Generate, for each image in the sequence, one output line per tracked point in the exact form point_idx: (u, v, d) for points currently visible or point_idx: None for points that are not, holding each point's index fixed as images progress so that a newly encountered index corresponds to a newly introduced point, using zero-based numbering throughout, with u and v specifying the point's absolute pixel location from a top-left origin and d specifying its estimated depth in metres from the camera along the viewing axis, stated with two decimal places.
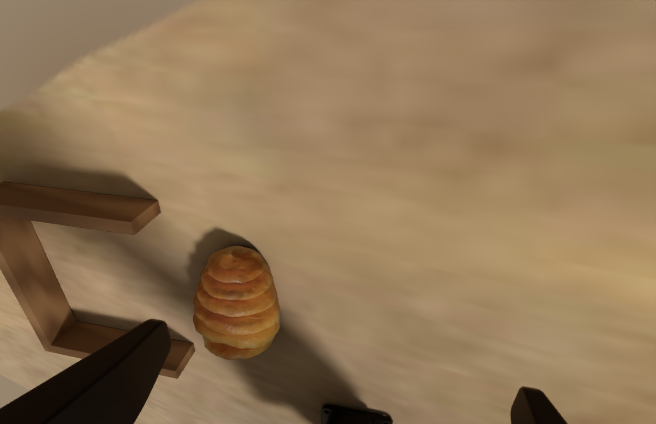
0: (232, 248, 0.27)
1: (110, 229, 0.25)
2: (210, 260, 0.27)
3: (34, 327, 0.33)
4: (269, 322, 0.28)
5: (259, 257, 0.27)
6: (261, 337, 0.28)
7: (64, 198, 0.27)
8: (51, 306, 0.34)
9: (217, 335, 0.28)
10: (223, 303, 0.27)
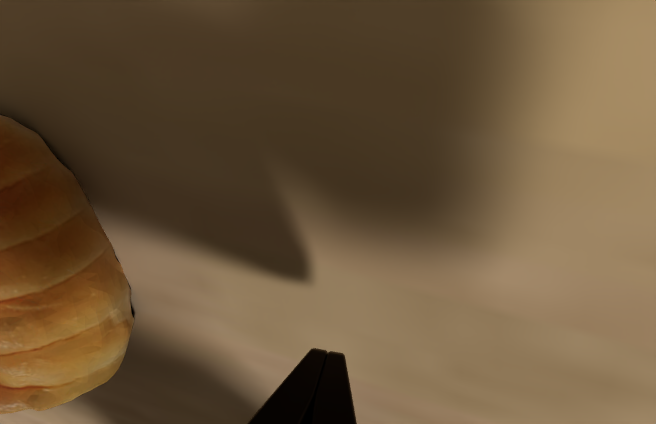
0: None
1: None
2: None
3: None
4: (78, 320, 0.11)
5: (30, 141, 0.10)
6: (62, 358, 0.11)
7: None
8: None
9: None
10: None
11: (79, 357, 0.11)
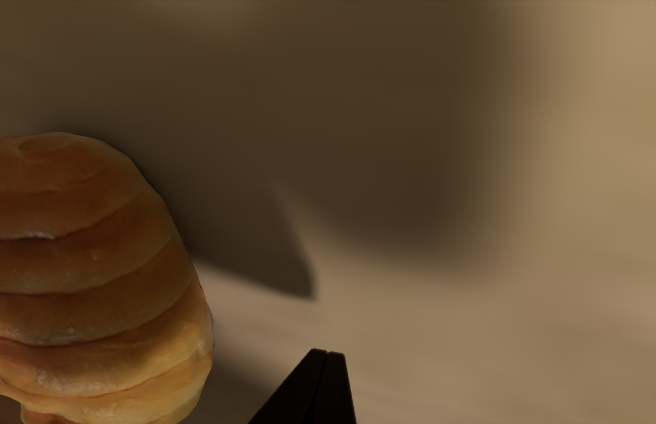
0: (33, 135, 0.09)
1: None
2: None
3: None
4: (170, 356, 0.10)
5: (123, 165, 0.09)
6: (152, 396, 0.10)
7: None
8: None
9: (24, 398, 0.10)
10: (10, 304, 0.09)
11: (167, 394, 0.11)
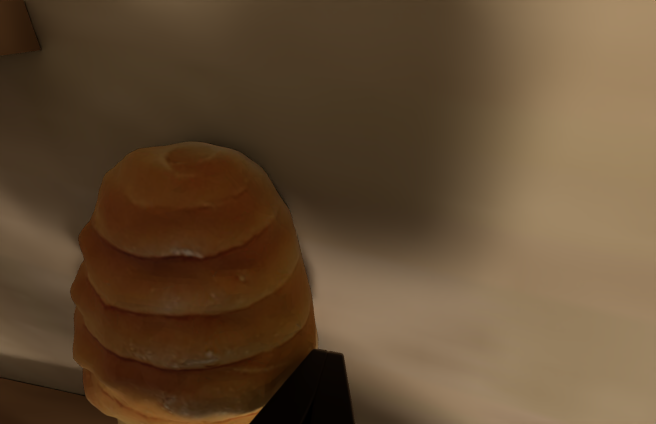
0: (173, 144, 0.08)
1: None
2: (102, 187, 0.08)
3: None
4: None
5: (262, 178, 0.09)
6: None
7: None
8: None
9: (141, 421, 0.09)
10: (146, 326, 0.08)
11: None
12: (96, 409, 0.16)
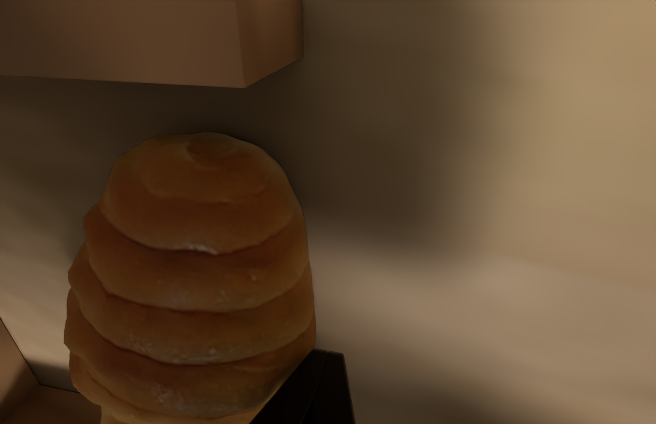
0: (193, 134, 0.08)
1: (121, 65, 0.05)
2: (114, 170, 0.08)
3: None
4: None
5: (280, 177, 0.08)
6: None
7: None
8: None
9: (131, 412, 0.09)
10: (149, 317, 0.08)
11: None
12: None
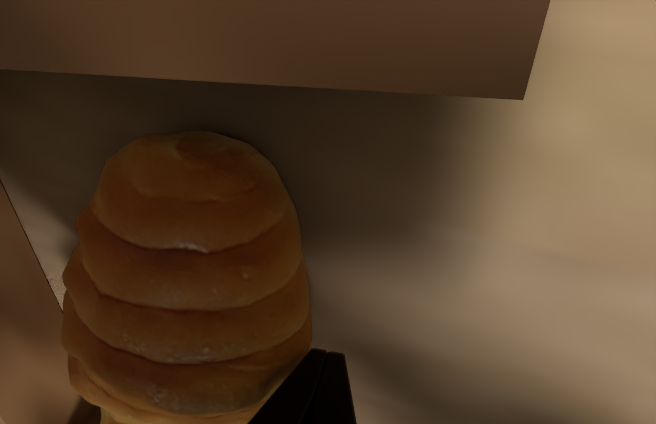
0: (183, 133, 0.08)
1: (369, 72, 0.04)
2: (104, 170, 0.08)
3: None
4: None
5: (271, 174, 0.08)
6: None
7: None
8: (44, 377, 0.13)
9: (128, 412, 0.09)
10: (142, 317, 0.08)
11: None
12: None
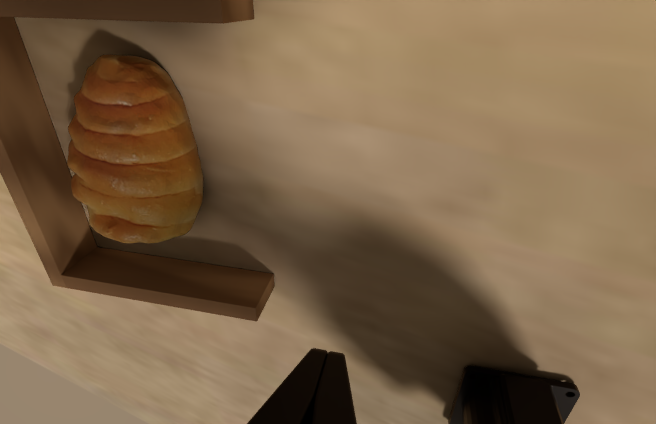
0: None
1: (177, 15, 0.14)
2: (86, 73, 0.17)
3: (36, 244, 0.22)
4: (180, 184, 0.19)
5: (165, 76, 0.18)
6: (169, 206, 0.19)
7: None
8: (62, 215, 0.22)
9: (100, 199, 0.18)
10: (104, 140, 0.17)
11: (177, 209, 0.19)
12: (223, 270, 0.23)
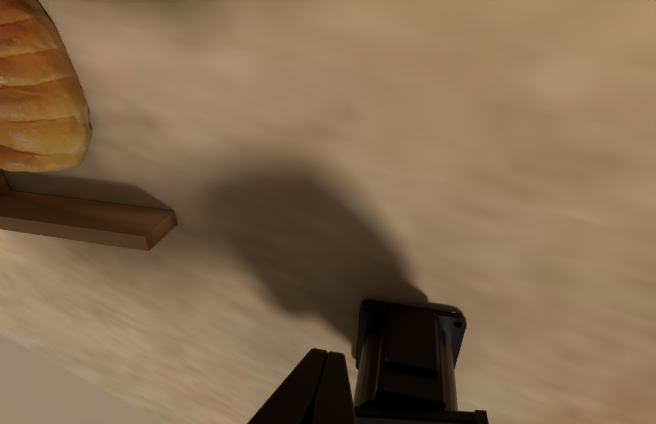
0: None
1: None
2: None
3: None
4: (56, 110, 0.20)
5: (33, 2, 0.18)
6: (46, 131, 0.20)
7: None
8: None
9: None
10: None
11: (56, 135, 0.20)
12: (126, 208, 0.24)
